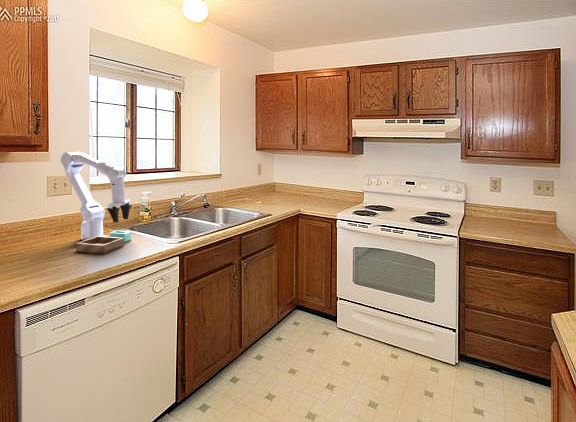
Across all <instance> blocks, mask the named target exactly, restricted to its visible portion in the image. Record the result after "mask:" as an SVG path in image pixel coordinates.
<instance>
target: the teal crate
mask: <svg viewBox="0 0 576 422" xmlns="http://www.w3.org/2000/svg"><path fill="white" fill-rule="evenodd" d="M131 235H132V234H131V231H130V230H129V231H128V230H127V231H126V230H117V229H116V230H113V231H111V232H109V237H118V238H124V243H127V242H130V241H132V236H131Z"/></svg>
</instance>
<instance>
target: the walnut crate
mask: <svg viewBox="0 0 576 422" xmlns="http://www.w3.org/2000/svg"><path fill="white" fill-rule="evenodd" d="M105 236H106V235H103V236H96V237H93V238H90V239H87V240H84V239H83V240H82V241H79V242H76V243H75V250H76V252H82V253H83V252H85V253H93V254H95V253H97V254H107V253H108V252H111V251H113V250H116V249H118V248H121V247H123V246H125V242H124V238H118V237H110V236H107V237H105Z"/></svg>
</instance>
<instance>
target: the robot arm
mask: <svg viewBox="0 0 576 422" xmlns="http://www.w3.org/2000/svg"><path fill="white" fill-rule="evenodd" d="M60 163H61V164H62V166H63V169H64V171H65V175H66V177H67V179H68V181H69V182H70V184H71V187H72V188H73V190H74V192H75V194H76V196H77V197H78V199H79V201H80V203H81V207H80V209H79V211H80V213H81V218H82V220H83V221H82V222H81V224H80V232H81V233H80V234H81V238H80V240H83V241H84V240H87V239H90V238H93V237H96V236H105V237H108V235H104V227H103V221H104V217H106V210H107V212H109V215H110V216H111V219H112V222H113V223H118V222H119V212H120V210H121V215H122V218H123V220H129V215H130V211H131V209H132V206H133V205H132V204H131V200H130V199H126V191H125V182H124V179H125V178H126V175H127V173H126V170H125V169H124V168H123V167H122V166H116V165H114V164H110V163H108V161H106V160H100V161H99V160H97V159H95V158H94V157H91V156H90V155H88V154H87V153H84V152H82V151H75V152H74V151H73V152H72V151H71V152H68V151H67V152H63V153H62V154H61V158H60ZM85 165H88V166H89V167H92V168H95V169H96V171H97V172H98V173H100V174H102V175H104V176H106V177H107V179H108V180H109V184H110V189H111V198H112V199H111V200H112V201H111V202H110V203H107V205H106V206H107V208H106V210H105V208H104V207H102V206H101V204H100V203H99V202H97V201H96V200H94V198H93V197H92V195H91V192H90V191H89V189H88V187H87V185H86V183H85V182H84V180H83V178H82V176H81V174H80V171H81V170H82V169H83V167H84V166H85Z"/></svg>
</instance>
